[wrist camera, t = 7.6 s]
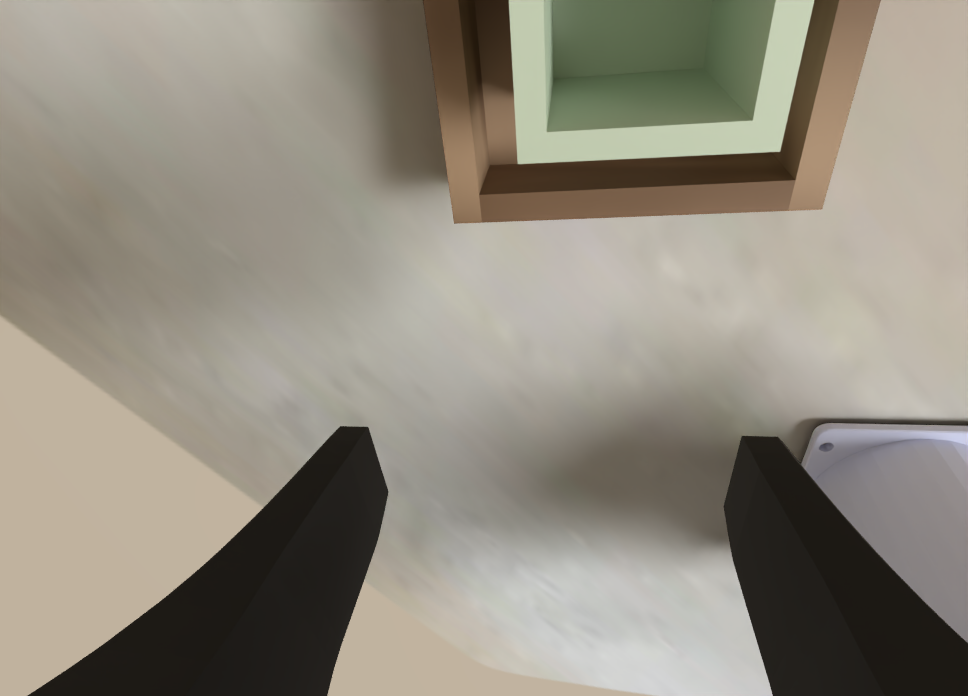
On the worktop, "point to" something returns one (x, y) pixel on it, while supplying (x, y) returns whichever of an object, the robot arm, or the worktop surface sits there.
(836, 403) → the worktop surface
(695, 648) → the worktop surface
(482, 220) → the big crate
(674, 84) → the small crate
